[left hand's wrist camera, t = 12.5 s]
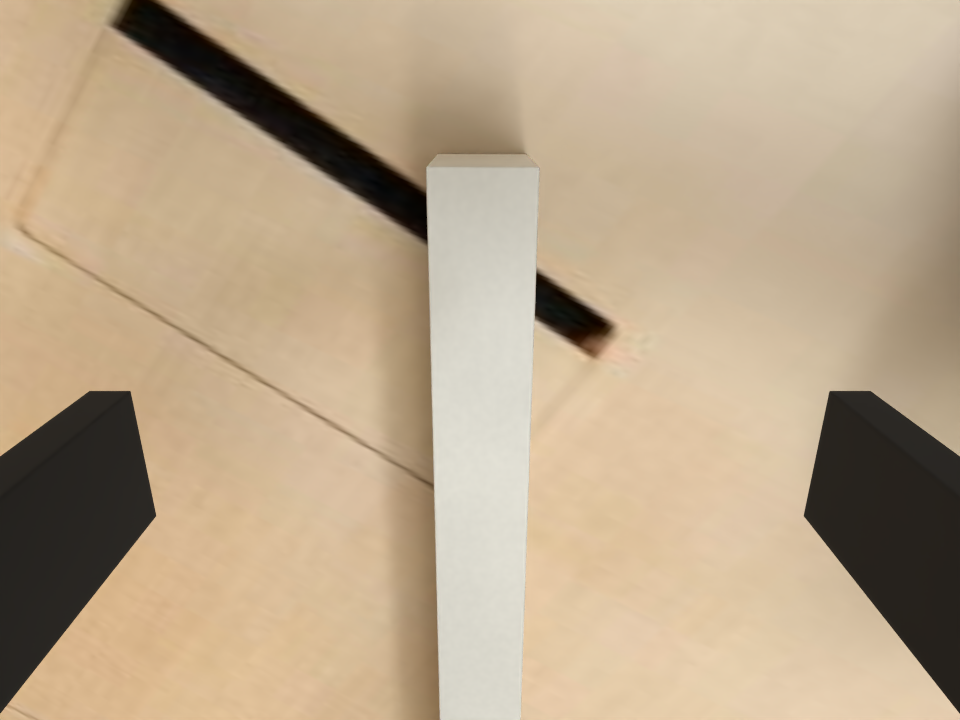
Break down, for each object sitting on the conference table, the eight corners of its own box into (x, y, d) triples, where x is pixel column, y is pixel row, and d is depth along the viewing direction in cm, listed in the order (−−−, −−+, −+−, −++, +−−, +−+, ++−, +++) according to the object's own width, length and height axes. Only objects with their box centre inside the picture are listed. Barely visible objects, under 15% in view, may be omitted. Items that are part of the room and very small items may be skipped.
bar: (437, 153, 37) (425, 166, 29) (527, 153, 37) (539, 166, 29) (451, 941, 62) (448, 1058, 54) (505, 941, 62) (508, 1058, 54)
